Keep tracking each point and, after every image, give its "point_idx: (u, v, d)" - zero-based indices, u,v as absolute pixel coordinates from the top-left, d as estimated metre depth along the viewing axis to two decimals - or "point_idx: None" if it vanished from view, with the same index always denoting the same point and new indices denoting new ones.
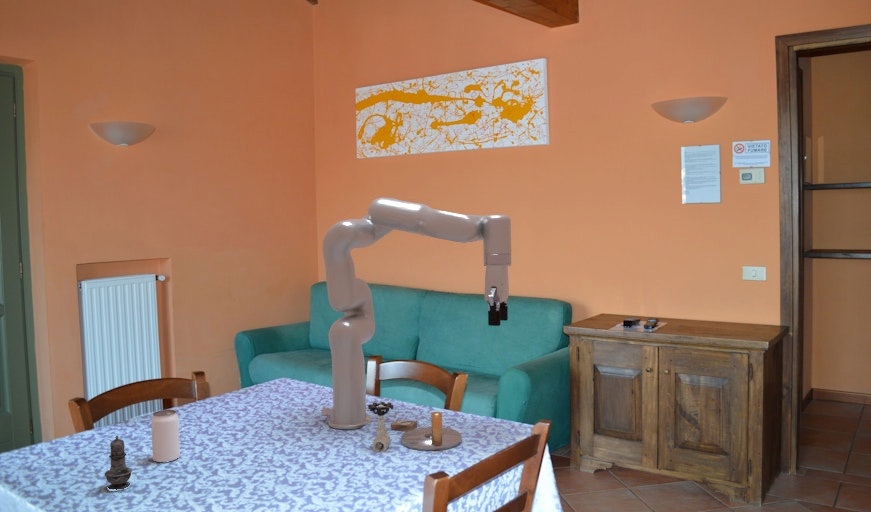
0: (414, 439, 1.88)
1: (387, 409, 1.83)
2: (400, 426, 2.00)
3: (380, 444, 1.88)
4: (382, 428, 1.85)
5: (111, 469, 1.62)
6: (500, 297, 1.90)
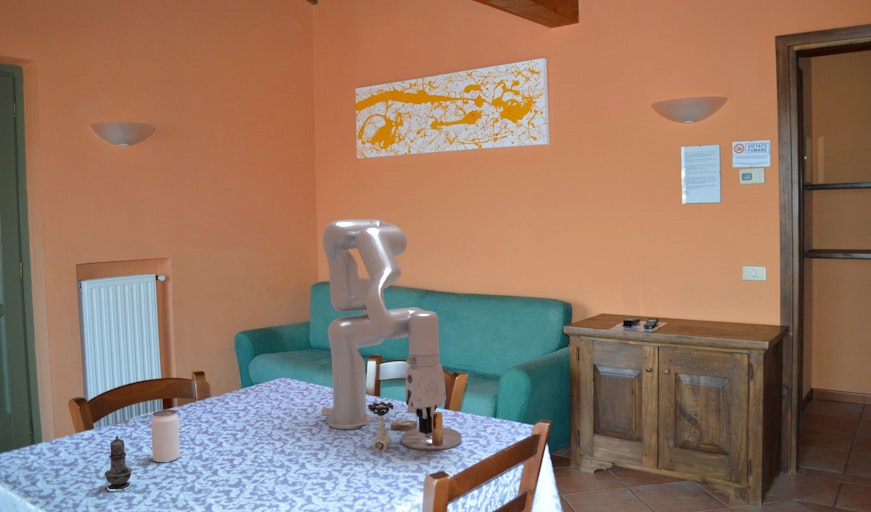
0: (414, 439, 1.88)
1: (387, 409, 1.83)
2: (400, 426, 2.00)
3: (380, 444, 1.88)
4: (382, 428, 1.85)
5: (111, 469, 1.62)
6: None
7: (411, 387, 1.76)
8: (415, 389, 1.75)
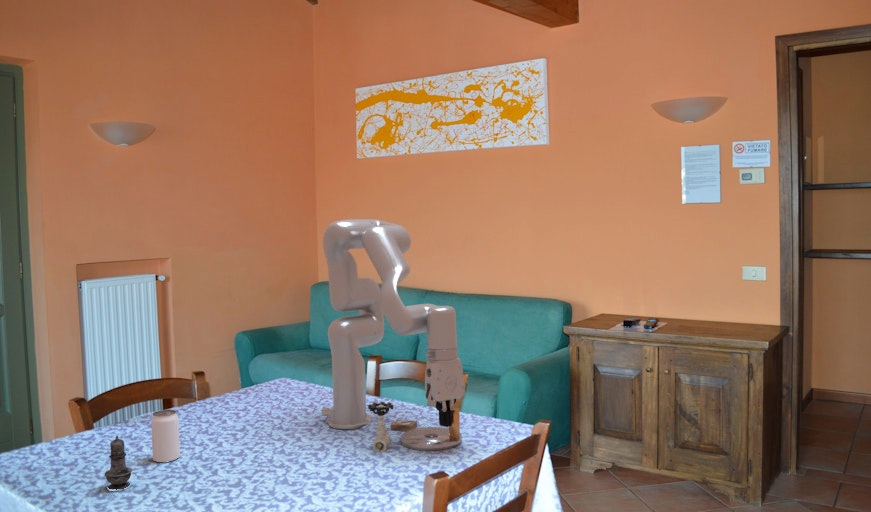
0: (426, 441, 1.86)
1: (387, 409, 1.83)
2: (400, 426, 2.00)
3: (380, 444, 1.88)
4: (382, 428, 1.85)
5: (111, 469, 1.62)
6: None
7: (430, 380, 1.79)
8: (434, 382, 1.79)
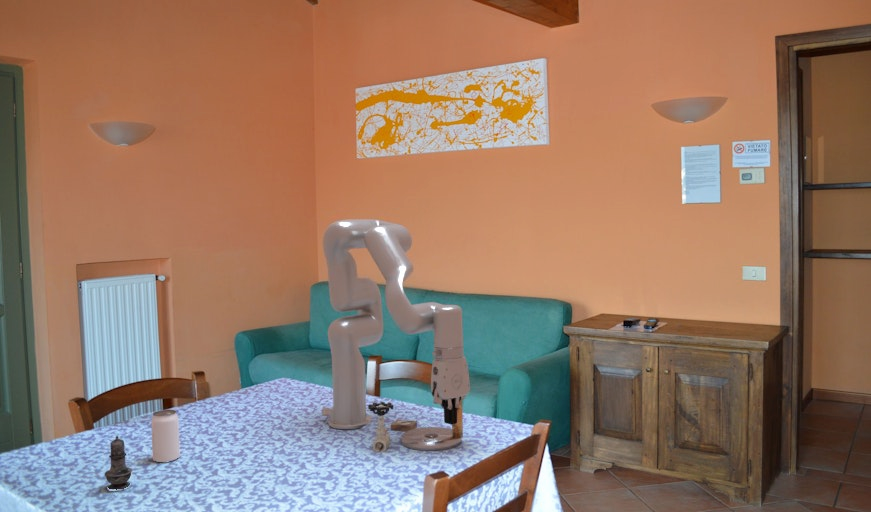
0: (434, 441, 1.85)
1: (387, 409, 1.83)
2: (400, 426, 2.00)
3: (380, 444, 1.88)
4: (382, 428, 1.85)
5: (111, 469, 1.62)
6: None
7: (437, 379, 1.81)
8: (441, 380, 1.81)
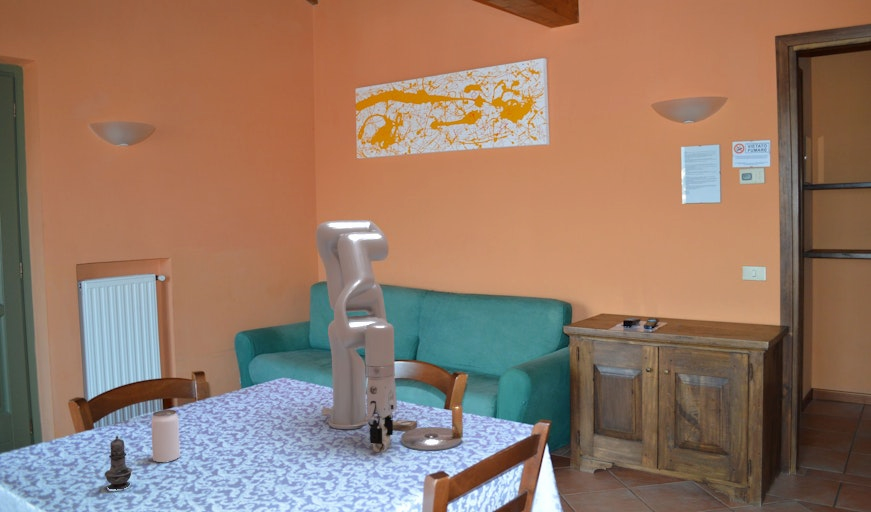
0: (434, 441, 1.86)
1: None
2: (400, 426, 2.00)
3: (380, 444, 1.88)
4: (382, 428, 1.85)
5: (111, 469, 1.62)
6: None
7: (376, 398, 1.80)
8: (381, 399, 1.80)
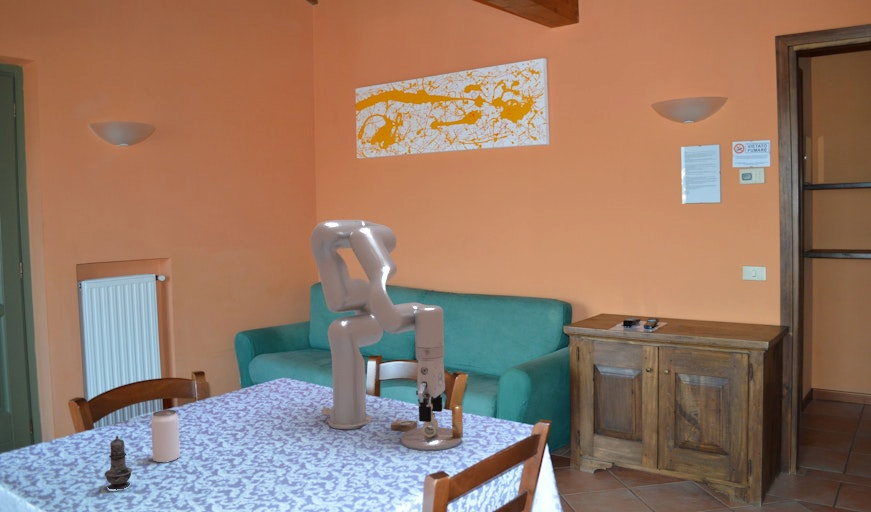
0: (434, 441, 1.86)
1: None
2: (400, 426, 2.00)
3: (428, 429, 1.92)
4: None
5: (111, 469, 1.62)
6: None
7: (427, 378, 1.85)
8: (432, 379, 1.84)
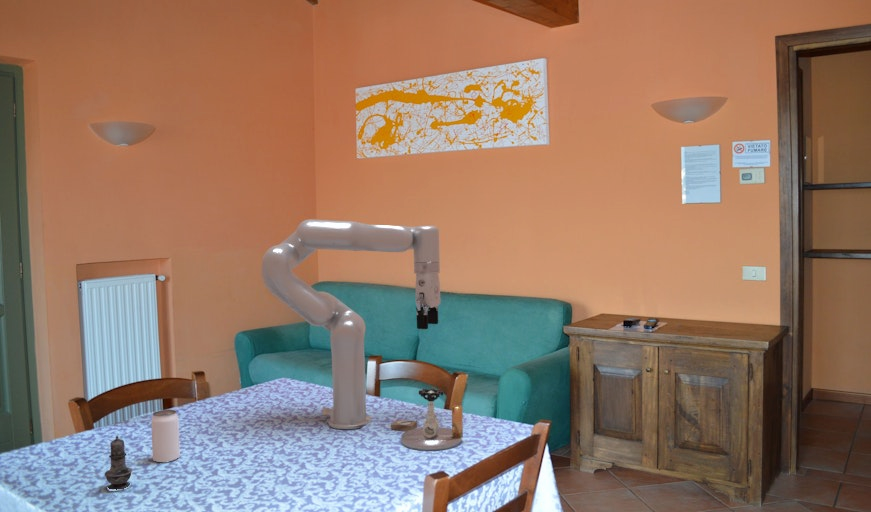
0: (434, 441, 1.86)
1: (438, 395, 1.87)
2: (400, 426, 2.00)
3: (429, 429, 1.92)
4: (432, 413, 1.90)
5: (111, 469, 1.62)
6: None
7: (424, 289, 2.04)
8: (429, 290, 2.04)
